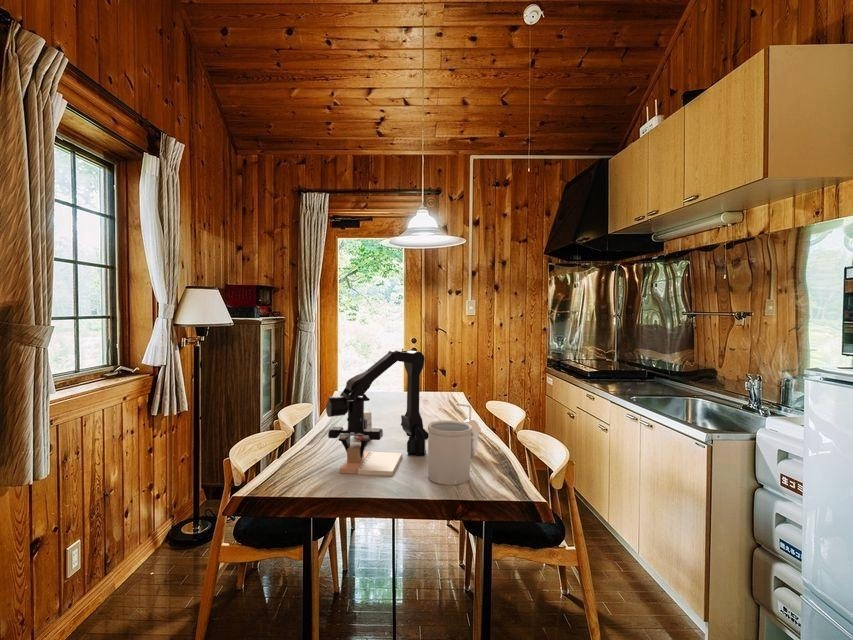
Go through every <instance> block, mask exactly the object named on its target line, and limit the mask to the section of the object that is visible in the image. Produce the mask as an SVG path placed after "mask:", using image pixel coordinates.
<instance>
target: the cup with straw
mask: <svg viewBox="0 0 853 640" xmlns="http://www.w3.org/2000/svg"><path fill="white" fill-rule="evenodd" d="M456 406H459V407H467V408H469V409H468V410H469V415H468V416H469V418H467V419H464V420H463V421H462V422H465V423H468V424H470V425H471V426H472V432H471V455H470V458H472V457H473V458H474V457H476V453H477V447H478V438H479V435H480V432H481V431H482V428H481V427H480V426H479V423H478V421H476V420H475V419H473V418H472V406H471V405H469V404H463V403H456Z"/></svg>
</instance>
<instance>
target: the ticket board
mask: <svg viewBox="0 0 853 640" xmlns="http://www.w3.org/2000/svg"><path fill="white" fill-rule="evenodd" d="M402 458H403V453H402V452H382V451H370V454H369V455H368V456H367V458H366V459H365V460H364V462H363V463H362V464H361V466H360V467H359V468H358V471H357V474H356V475H363V476H364V475H367V476H368V475H369V476H385V477H386V476H388V477H389V476H391V477H393V476H394V474H395V472H396V470H397V468H398V466H399V464H400V463H401V460H402Z"/></svg>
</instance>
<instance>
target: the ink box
mask: <svg viewBox="0 0 853 640" xmlns="http://www.w3.org/2000/svg"><path fill="white" fill-rule="evenodd" d="M364 416H365V419H366V420H367V429H365V430H364V431H370V430H371V429H372V428H373V427H372V425H373V424H372V419H373V418H372V412H371V411H370V410H366V409H365V408H364ZM353 437H354V438H356V439H358V440H360V441H361V440H362V439H363V436H353Z"/></svg>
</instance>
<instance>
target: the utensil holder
mask: <svg viewBox="0 0 853 640" xmlns="http://www.w3.org/2000/svg"><path fill="white" fill-rule="evenodd" d="M427 432H428V439H427V440H428V441H427V443H428V444H427V474H428V479H429V480H430V481H431V482H433V483H436V484H439V485H444V486H445V485H446V486H455V485H456V486H457V485H461V484H465V483H467V482H468V481H469V479H470V473H471V472H470V470H471V457H470V455H471V432H472V426H471V425H470V424H468V423H465V422H463V421H460V420H446V419H445V420H443V419H442V420H435V421H431V422H429V423H428V424H427Z"/></svg>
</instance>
